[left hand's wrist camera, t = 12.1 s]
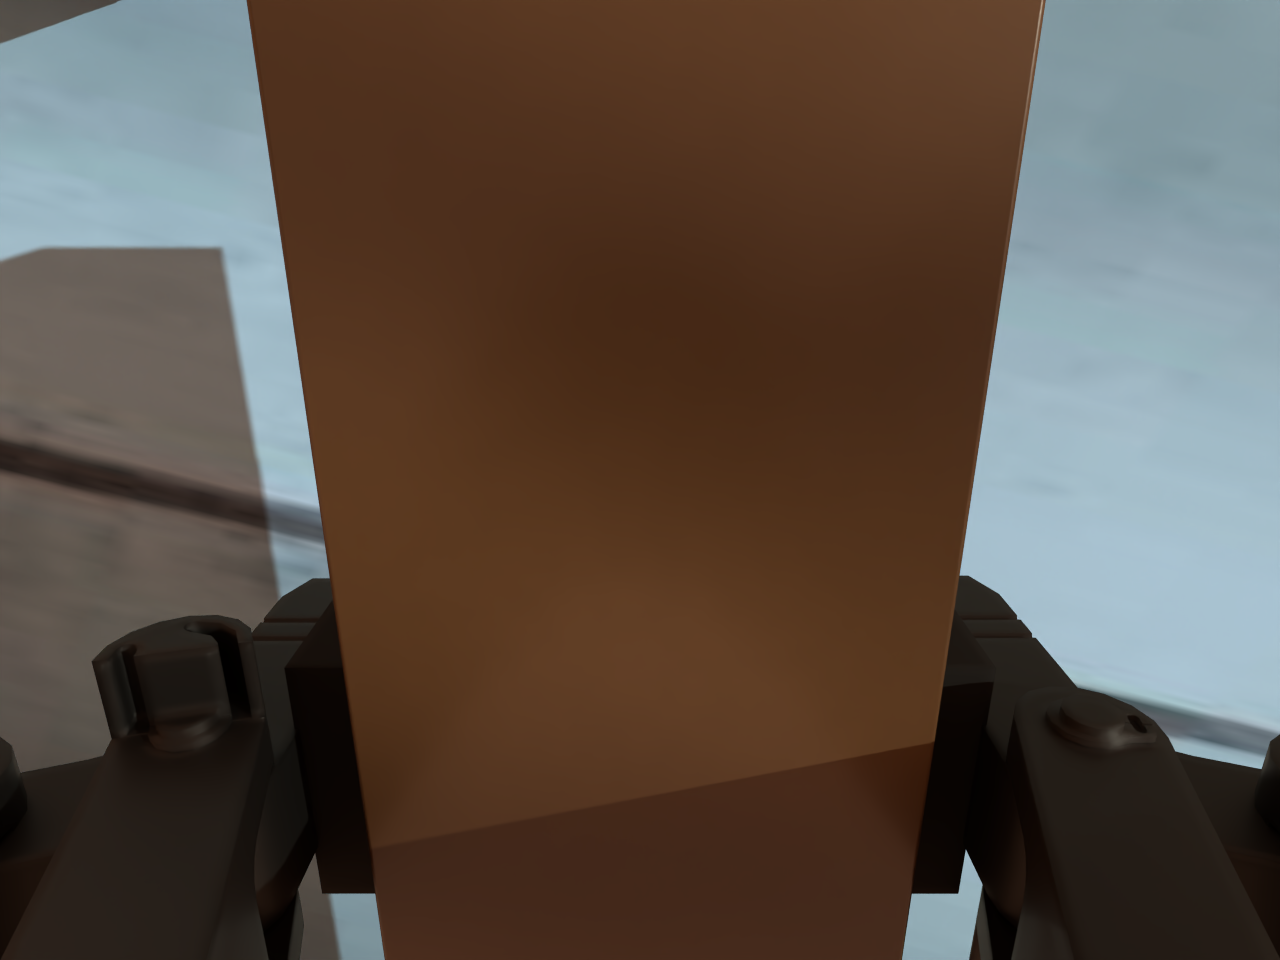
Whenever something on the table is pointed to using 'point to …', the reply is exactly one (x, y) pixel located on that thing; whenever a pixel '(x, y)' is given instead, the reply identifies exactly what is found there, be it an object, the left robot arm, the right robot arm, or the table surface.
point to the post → (644, 445)
